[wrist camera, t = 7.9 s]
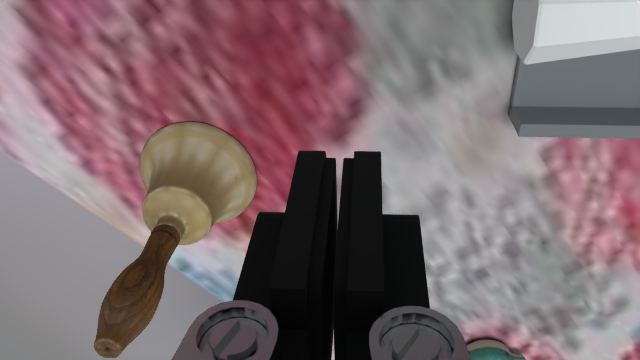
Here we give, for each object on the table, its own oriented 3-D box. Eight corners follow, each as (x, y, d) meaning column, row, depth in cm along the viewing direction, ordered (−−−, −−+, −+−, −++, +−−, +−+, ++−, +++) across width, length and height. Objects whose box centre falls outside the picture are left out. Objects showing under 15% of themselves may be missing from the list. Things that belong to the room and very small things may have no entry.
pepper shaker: (506, 20, 33) (704, 11, 32) (522, 86, 30) (741, 78, 29) (526, -66, 29) (755, -80, 28) (546, 1, 26) (806, -11, 25)
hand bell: (116, 158, 39) (-17, 331, 26) (203, 98, 36) (103, 258, 23) (195, 238, 43) (113, 428, 29) (281, 189, 40) (234, 375, 26)
